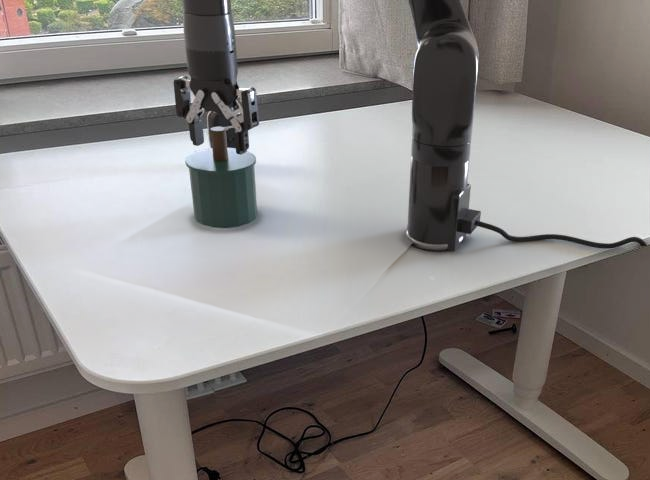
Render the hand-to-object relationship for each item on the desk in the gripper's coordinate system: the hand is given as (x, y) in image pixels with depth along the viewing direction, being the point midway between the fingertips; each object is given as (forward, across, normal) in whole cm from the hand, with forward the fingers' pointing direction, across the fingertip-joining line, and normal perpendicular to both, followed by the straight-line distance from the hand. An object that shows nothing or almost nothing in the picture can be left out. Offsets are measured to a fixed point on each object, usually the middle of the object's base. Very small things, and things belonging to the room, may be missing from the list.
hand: (220, 148), depth 127 cm
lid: (+2, 0, 0) cm, 2 cm away
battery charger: (+12, -13, +21) cm, 28 cm away
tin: (+12, 0, 0) cm, 12 cm away
